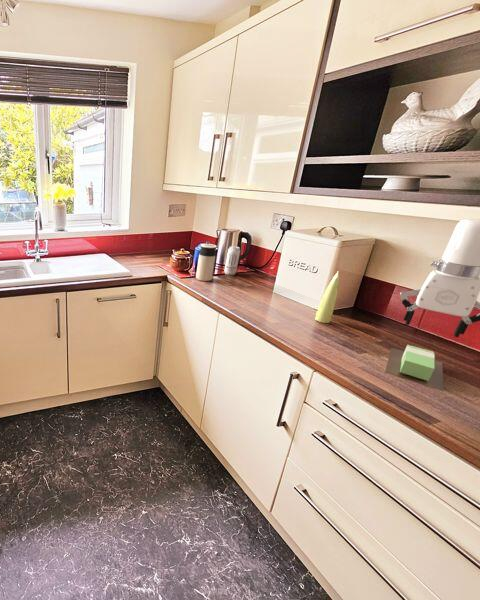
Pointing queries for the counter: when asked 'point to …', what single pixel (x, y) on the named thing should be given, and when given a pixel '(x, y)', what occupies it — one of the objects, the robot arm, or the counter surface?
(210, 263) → the travel mug
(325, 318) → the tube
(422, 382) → the stand
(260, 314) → the counter surface
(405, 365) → the block
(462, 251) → the robot arm
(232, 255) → the white bottle
